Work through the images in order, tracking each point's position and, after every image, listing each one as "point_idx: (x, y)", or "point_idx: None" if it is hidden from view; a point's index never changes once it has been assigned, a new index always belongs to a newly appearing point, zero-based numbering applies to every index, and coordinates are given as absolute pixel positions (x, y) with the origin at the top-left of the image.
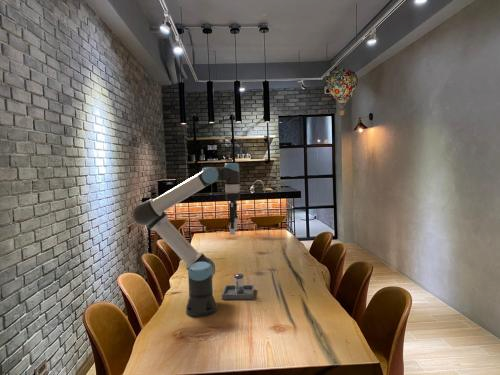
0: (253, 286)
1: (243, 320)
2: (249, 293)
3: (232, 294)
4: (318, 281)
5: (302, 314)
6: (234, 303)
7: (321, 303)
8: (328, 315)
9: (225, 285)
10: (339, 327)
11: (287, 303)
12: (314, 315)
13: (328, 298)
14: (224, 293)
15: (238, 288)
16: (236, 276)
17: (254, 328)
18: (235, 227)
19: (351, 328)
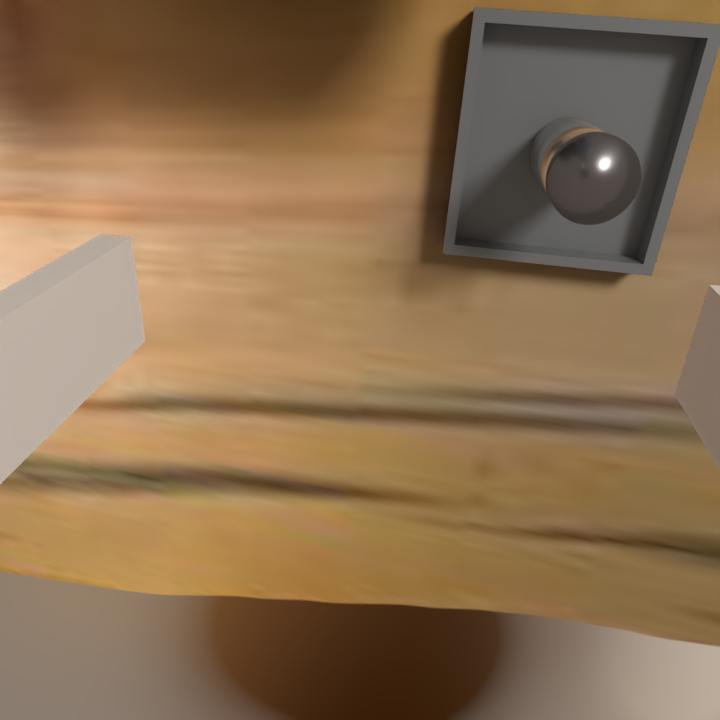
0: (618, 269)
1: (123, 175)
2: (540, 228)
3: (463, 102)
4: (687, 630)
5: (217, 458)
6: (386, 114)
7: (347, 558)
8: (211, 545)
9: (718, 24)
10: (103, 547)
11: (359, 423)
12: (208, 499)
13: (409, 598)
14: (539, 26)
15: (536, 154)
16: (557, 157)
17: (38, 230)
18: (708, 398)
19: (100, 577)
